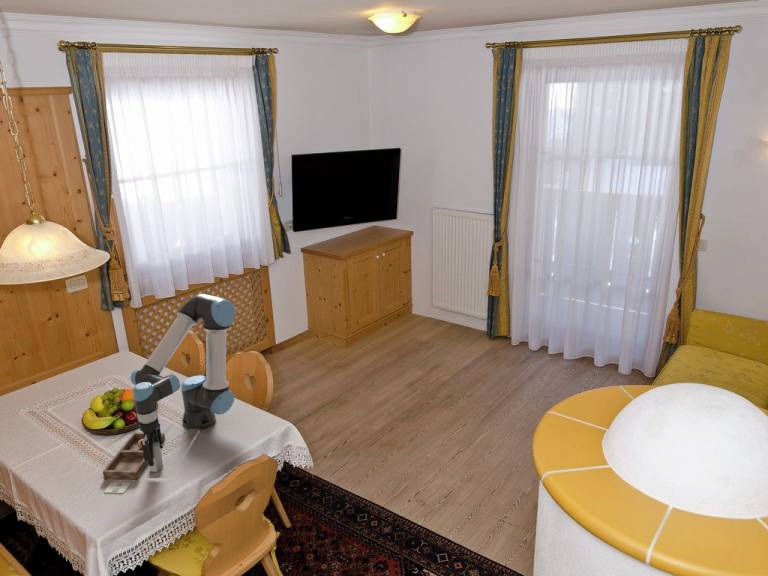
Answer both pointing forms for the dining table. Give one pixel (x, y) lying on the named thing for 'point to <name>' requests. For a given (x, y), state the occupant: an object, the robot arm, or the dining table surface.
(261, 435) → the dining table surface
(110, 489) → the card
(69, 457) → the dining table surface
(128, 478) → the tray
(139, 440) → the ball
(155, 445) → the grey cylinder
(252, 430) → the dining table surface
